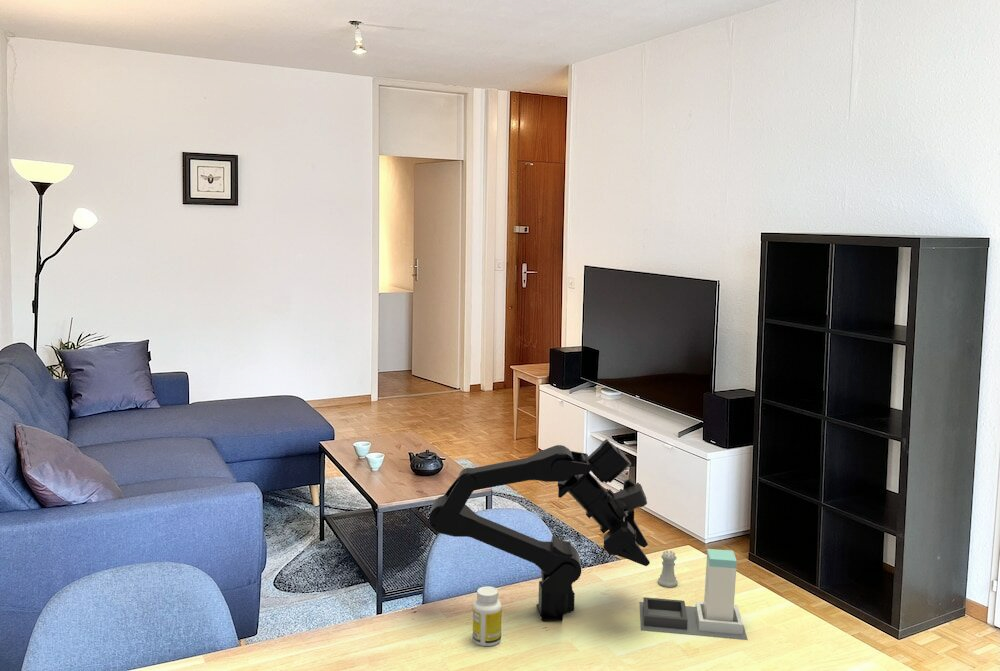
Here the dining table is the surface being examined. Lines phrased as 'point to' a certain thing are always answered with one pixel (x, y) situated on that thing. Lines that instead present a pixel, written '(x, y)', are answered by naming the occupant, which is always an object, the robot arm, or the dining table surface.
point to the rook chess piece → (668, 570)
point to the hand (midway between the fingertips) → (647, 555)
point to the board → (687, 619)
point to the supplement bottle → (487, 617)
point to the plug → (720, 585)
